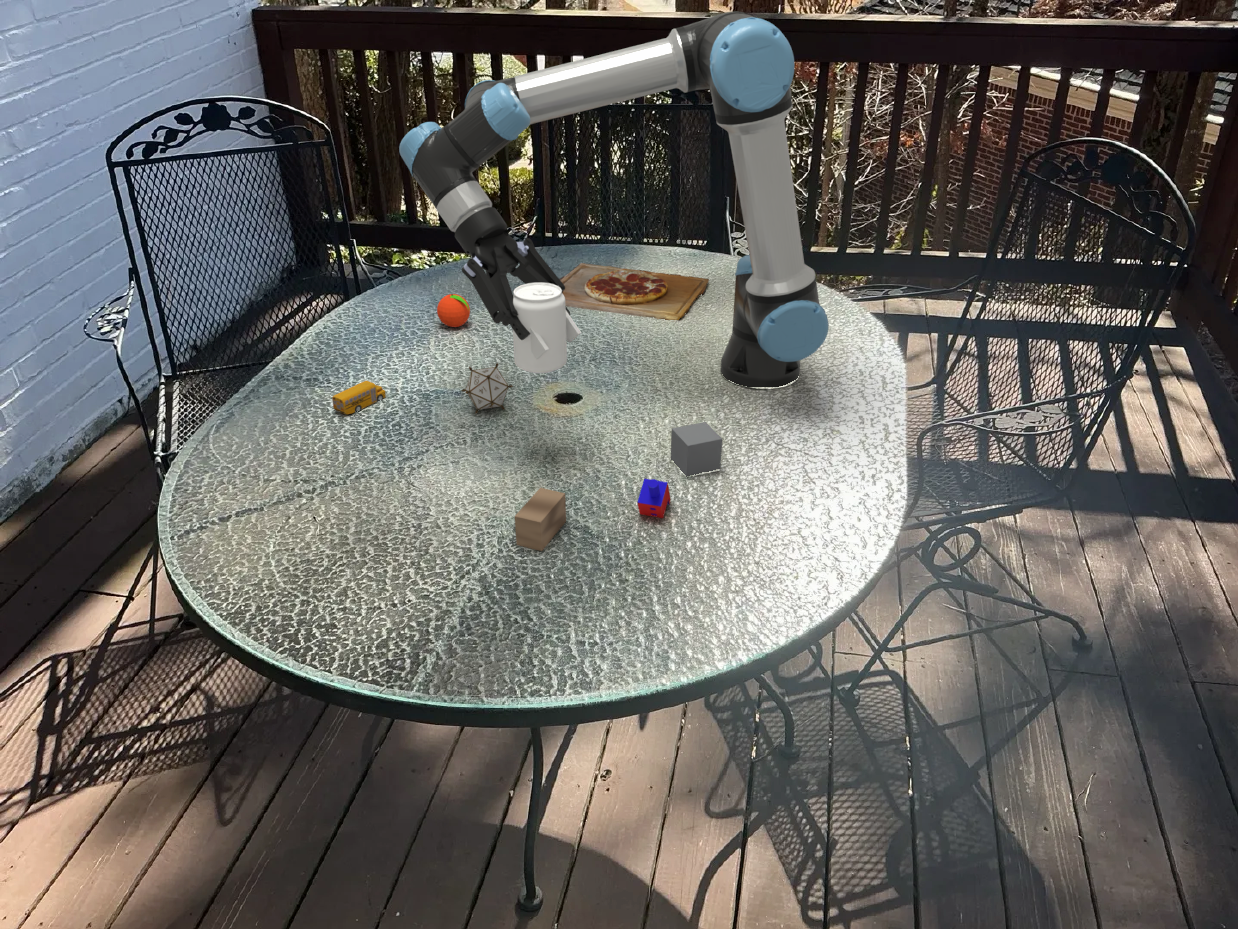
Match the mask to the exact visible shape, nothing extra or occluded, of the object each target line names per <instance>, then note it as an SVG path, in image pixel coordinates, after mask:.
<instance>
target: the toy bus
mask: <svg viewBox="0 0 1238 929" xmlns="http://www.w3.org/2000/svg"><path fill="white" fill-rule="evenodd" d="M385 398H386V390H385V389H383V387H382V386H381V385H378V384H375V383H374V382H371V381H369V380H363V381H361V382H360V383H358V384H355V385H353V386H351V387H349V388H347V389H345V390H342V391H341V392H338V393H336V394H334V395H332V397H331V399H332V407H333V409H334V410H335V411H336V412H338V413H341V414H344V415H352V414H353V413H356V412H357V411H359V412H360V411H362V410H363V409H365V408H367V407H369V406H371V405H373V404H375V403H377V402H378V401H379V402H381V401H383V400H384V399H385ZM382 399H383V400H382ZM380 400H381V401H380ZM357 413H358V412H357Z"/></svg>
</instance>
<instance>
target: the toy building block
mask: <svg viewBox="0 0 1238 929" xmlns="http://www.w3.org/2000/svg"><path fill="white" fill-rule="evenodd" d="M641 485H642V486H641V489H640V490H639V491H640V492H639V495H638V499H637V502H636V503H637V508H638V512H639V515H642V516H648V517H655V518H659V519H664V518H665V517H664V516H665V513H666V510H667V507H668V506H669V505H670V504H671V495H670V488H669V482H668V481H662V480H657V479H655V478H651V479H650V478H643V482H642V484H641ZM668 504H669V505H668ZM667 505H668V506H667Z"/></svg>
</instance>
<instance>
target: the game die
mask: <svg viewBox="0 0 1238 929" xmlns="http://www.w3.org/2000/svg"><path fill="white" fill-rule="evenodd" d="M498 367H499V362H496V364H495V366H494V367H493V366H492V367H485V368H478V369H473V368H472V367H471V366H468V370H469V371H470V374H469V377H468V380H467V384H466V386H465V388H462V389H461V390H460V391H461V392H462V393H465V394H466V395H467V396H468V397H469V399H470V400H471V402H472V404H473V405H474V408H475V412H474V413H475V415H477V414H478V413H479V411H480V410H481V411H482V410H487V409H494V408H501V409H502V410H505V409H506V408H505V406H504V405H503V404H504V401H505V398H506V396H507V393H508V390H509V389H512V388H513V387H514V385H512V384H508V382H507V381H506V380H505V378H504V377H503V375H502V373H501V371H500V370H499V368H498Z"/></svg>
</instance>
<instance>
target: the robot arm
mask: <svg viewBox="0 0 1238 929" xmlns="http://www.w3.org/2000/svg"><path fill="white" fill-rule="evenodd" d="M794 75H795V56H794V52H793V50H792V46H791V45H790V42H789V40H788V39H787V37H785V34H784V33H782V31H781V30H780V28H778V27H777V26H775V24H773V23H771V22H770V21H769V20H768V21H767V20H765V19H763V18H760V17H759V18H758V17H756V16H754V15H751V14H749V13H747V12H743V11H742V12H741V11H728V12H723V13H720V14H718V15H714V16H710V17H708V18H705V19H702V20H700V21H696V22H692V23H689V24H687V25H683V26H680V27H676V28H673V29H671V31H670V32H669V33H668V36H667V37H666V38H661V39H657V40H653V41H648V42H645V43H642V44H637V45H633V46H629V47H626V48H622V49H618V50H614V51H613V50H612V51H609V52H606V53H602V54H599V55H594V56H591V57H587V58H586V57H585V58H583V59H582V58H581V59H578V60H575V61H571V62H565V63H562V64H559V65H555V66H550V67H547V68H541V69H538V70H535V71H534V70H533V71H531V72H527V73H523V74H519V75H516V76H513V77H508V78H504V79H500V80H499V79H498V80H491V79H484V80H481V81H479V82H477V83H475V84H474V85H473V87H471V88H470V89H469V91H468V93H467V95H466V97H465V100H464V110H463V111H462V112H461V113H459V114H458V115H457V116H456V117H454V118H453V119H451V121H450V122H449V123H446V125H445V126H443V127H441V126H440V125H439V124H438V123H437V122H435V121H426V122H423V123H420V124H419V125H418V126H416V127H414V128H412V129H410V131H408V132H407V133H406V134H405V135H404V137H403V138H402V139H401V141H400V143H399V146H398V148H399V149H398V150H399V155H400V156H401V159H402V160H403V162H404V164H405V165H406V166H407V168H408V170H409V172H410V174H411V177H412V178H414V179H415V182H417V184H418V186H420V188H421V189H422V191H423V192H424V193H425V195H426V196H427V198H428V200H430V202H431V204H432V205H433V206H434V208H435V210H436V211H437V212H438V214H439V216H440V217H441V218H442V220H443V221H444V222H445V224H446V225H447V227H448V229H449V230H450V231H451V232H453V233H454V238H455V239H456V241H457V242H458V243H459V245H460V246H461V248H462V250H463V251H464V253H466V254H467V255H469V256H470V257H471V258H469V259H468V260H467V262H466V263H465V264H464V265H463V267H462V268H461V273H462V274H463V275H464V276H465V277H467V279H469V281H470V282H471V283H472V286H473V288H475V291H476V292H477V295H478V296H479V298H480V299H481V301H482V304H483V305H484V307H485V308H486V310H487V312H488V314H489V315H490V317H491V319H492V320H493V322H494V323H495V324H500V323H501V324H502V325H503V326H504V327H508V326H510V327H511V329H512V331H513V330H514V332H515V333H516V334H517V336H518V337H519V339H521V340H524V339H525V338H526V337H528V336H529V335H530V334H531V352H532V353H533V355H534V356H535V358H536V359H538V358H540V357H541V356H542V355H543V354H544V353H545V352H546V351H547V350H549V348H548V347H547V345H546V344H545V342H544V341H543V339H542V338H541V336H540V335H539V334H537V333H536V332H534V331H533V330H532V329H531V328H530V332H531V333H530V332H529V331H528V330H527V329H526V328H525V327H524V326H523V324H522V323H521V322H520V320H519V319H518V317H517V316H518V312H517V310H516V309H515V307H514V304H513V298H514V297H513V294H514V293H513V291H512V288H511V286H510V283H509V280H508V277H507V274H510V275H511V276H513V277H515V278H518V279H519V281H521V282H522V283H523V284H528V283H550V284H554V285H557V286H559V287H560V288H561V290H562V293H563V291H564V290H565V286H564V284H563V283H562V282H561V281H560V278H559V277H558V275H556V273H555V272H554V271H553V269H552V268H551V267H550V266H549V264H548V263H547V262H546V260H545V259H544V258H543V256H542V255H541V254H540V253H539V252H538V251H537V248H536V247H535V245H534V242H533V240H532V239H531V238H529V237H526V238H525V239H524V240H523V241H516V239H514V238H513V237H511V235H510V234H509V232H508V224H507V223H506V221H505V220H504V218H503V217H502V215H501V214H500V213H499V212H498V210H497V209H496V208H495V207H493V202H492V201H491V199H490V198H489V196H488V195H487V193H486V192H485V190H483V188H482V186H481V185H480V184H479V182H478V180H477V179H476V178H475V176H474V175H473V172H475V170H477V169H479V167H481V166H482V165H483V164H485V163H486V162H487V161H488V160H490V159H491V158H492V157H493V156H495V154H497V153H498V152H500V151H501V150H502V149H503V148H505V146H508V145H509V144H510V143H511V142H513V140H514V141H515V140H516V139H518V138H519V136H520V135H521V134H522V132H524V131H525V130H526V129H527V128H528V127H529V126H530V125H533V124H536V123H540V122H545V121H550V120H553V119H557V118H560V117H564V116H569V115H573V114H576V113H581V112H584V111H589V110H593V109H597V108H601V107H605V106H608V105H613V104H617V103H620V102H625V101H629V100H633V99H637V98H641V97H642V98H643V97H645V96H649V95H653V94H654V95H655V94H657V93H661V92H665V91H666V92H667V91H669V90H673V89H679V90H680V91H681V92H683V93H689V92H693V91H698V90H705V89H706V90H710V93H711V99H712V105H713V111H714V116H715V120H716V124H717V125H718V126H719V127H721V128H722V129H724V130H725V131H727V133H728V138H729V144H730V149H731V155H732V161H733V162H732V163H733V166H734V167H733V168H734V173H735V178H736V185H737V191H738V197H739V201H740V208H741V214H742V219H743V225H744V232H745V238H746V242H747V247H748V254H747V255H744V256H742V257H741V258H739V259H738V261H737V264H736V269H735V270H736V271H735V273H734V275H735V283H734V284H735V285H734V296H733V297H734V300H733V315H732V316H733V317H732V327H731V328H732V330H731V332H732V333H731V335H730V337H729V340H728V343H727V345H726V346H725V349H724V352H723V354H722V356H721V361H720V374H721V375H722V374H723V376H724V377H725V378H726V379H727V380H726V379H725V378H724V377H723V376H722V377H723V378H724V379H725V380H726V381H728V380H730V381H732V382H734V383H736V384H739V385H743V386H747V387H779V386H783V385H786V384H788V383H790V382H792V381H794V380H796V379H797V378H798V376H799V377H800V375H799V374H800V373H801V361H802V360H805V359H806V358H808V357H810V356H812V355H813V354H814V353H816V352H817V351H818V350H819V348H820V347H821V346H822V345H823V344H824V342H825V341H826V339H827V337H828V333H829V320H828V319H829V318H828V316H827V314H826V310H825V309H824V307H823V306H822V305H821V304H820V303H821V302H820V300H819V299H820V298H819V291H818V290H819V289H818V285H817V284H818V283H817V278H816V272H815V269H813V268H811V266H808V265H807V264H806V263H805V260H804V253H803V252H804V251H803V243H802V237H801V230H800V223H799V216H798V210H797V202H796V197H795V196H796V195H795V189H794V181H793V174H792V166H791V159H790V152H789V144H788V138H787V130H786V124H785V123H786V122H785V119H786V117H787V116H788V115H789V113H790V111H791V110H792V109H793V105H794V104H793V98H792V91H791V85H792V82H793V79H794ZM565 307H566V339H567V341H568V343H572V342H573V341H574V340H575V339H576V338H578V336H580V335H581V334H582V332H581V330H580V328H579V327H578V326H577V324H576V322H575V321H574V320H573V318H572V317H571V312H570V310H569V309H568V306H565ZM798 379H799V378H798ZM736 384H735V385H736ZM739 385H738V386H739Z"/></svg>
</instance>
